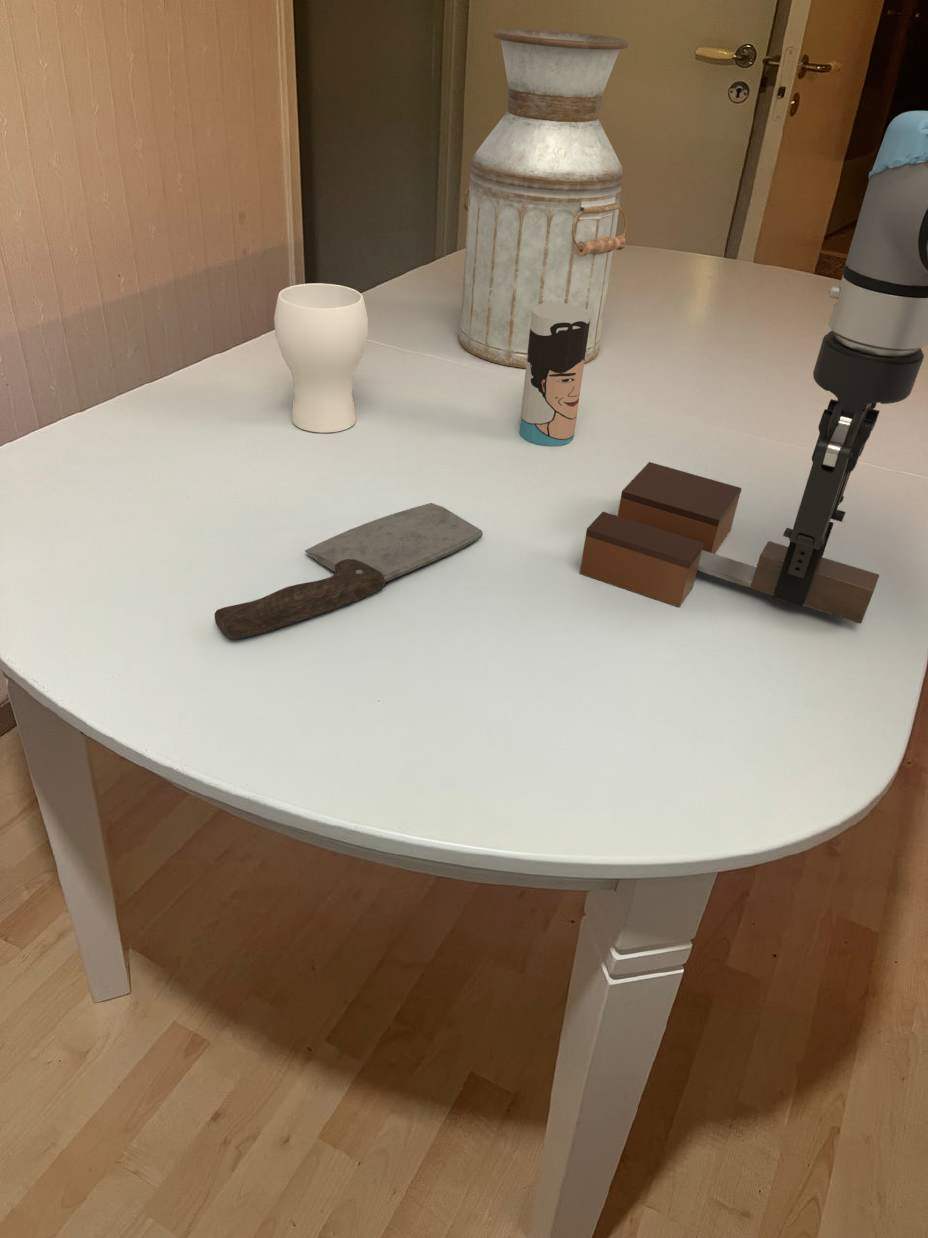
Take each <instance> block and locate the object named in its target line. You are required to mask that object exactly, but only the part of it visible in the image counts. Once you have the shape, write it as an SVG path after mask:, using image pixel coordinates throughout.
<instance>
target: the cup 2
mask: <svg viewBox="0 0 928 1238" xmlns="http://www.w3.org/2000/svg"><path fill="white" fill-rule="evenodd" d="M590 319H591V313H590V312H589V311H588V310H586V309H585V308H582V307H580V306H576V305H572V304H566V303H542V304H538V305H536V306H534V307H533V308H532V314H531V324H530V333H529V343H528V353H527V362H526V368H525V373H524V382H523V383H524V384H523V390H522V391H523V392H522V402H521V412H520V421H519V429H518V430H519V432H518V434H519V436H520V437H521V439H524V440H525V441H527V442H528V443H531V444H535V445H538V446H544V447H560V446H565V445H568V444H570V443H571V442H572V441H574V437H575V430H576V424H577V416H578V412H579V411H578V410H579V404H580V397H581V389H582V382H583V376H584V375H583V374H584V367H585V363H584V361H585V354H586V347H587V340H588V333H589V326H590Z"/></svg>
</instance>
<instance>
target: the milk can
mask: <svg viewBox="0 0 928 1238" xmlns="http://www.w3.org/2000/svg"><path fill="white" fill-rule="evenodd" d="M493 37H494V38H495V39H497V40H500V44H501V51H502V57H503V62H504V69H505V74H506V81H507V88H508V90H507V93H508V95H507V111H506V112H505V113H504V115H503V116H502V118H501V119H500V120H498V121H499V122H497V123H496V125H495V127H494V128H493V129H492V130H491V132H490V133H489V134H488V135H487V137H486V138H485V139H484V141H483V142H482V143H481V145H480V146H479V148H477V150H476V151H475V153H474V154H473V156H472V157H471V159H470V162H469V163H470V164H469V169H470V175H469V177H468V178H469V185H468V186H467V188H466V190H465V192H464V195H463V200H462V204H463V208H464V209H465V213H466V216H467V217H466V235H465V248H464V249H465V251H464V267H463V281H462V282H463V283H462V299H461V315H460V322H459V328H458V329H459V330H458V337H457V338H458V340H459V344H460V345H461V347H462V348H463V349H464V350H466V351H467V352H468V353H470V354H472V355H473V356H475V357H476V358H480V359H482V360H485V361H488V362H491V363H494V364H499V365H501V366H507V367H513V368H520V369H526V362H527V353H528V343H529V333H530V324H531V314H532V308H533V307H534V306H536V305H538V304H542V303H566V304H572V305H576V306H580V307H582V308H585V309H586V310H588V311H589V312H590V313H591V319H590V326H589V333H588V340H587V347H586V354H585V361H584V364H588V363H589V362H591V361H592V360H594V359H595V358H596V357H597V356H598V354H599V352H600V349H601V347H600V346H601V340H602V339H601V338H602V330H603V323H604V317H605V310H606V303H607V298H608V297H607V296H608V289H609V283H610V276H611V269H612V262H613V255H614V250H616V251H623V250H624V249H625V247H626V245H627V240H626V237H625V236H626V233H627V229H628V219H627V215H626V213H625V211H624V210H623V208H621V197H622V193H623V187H622V185H623V183H624V180H625V171H624V169H623V166H622V164H621V162H620V160H619V158H618V156H617V154H616V152H615V149H614V148H613V146H612V144H611V142H610V140H609V138H608V136H607V134H606V132H605V129H604V128H603V126H602V124H601V121H600V119H599V115H600V109H601V104H602V100H603V99H602V98H603V95H604V92H605V89H606V88H607V84H608V81H609V79H610V76H611V73H612V71H613V68H614V66H615V63H616V60H617V57H618V55H619V53H620V50H623V49H627V48H628V47H629V41H628V40H626V39H623V38H620V37H614V36H608V35H602V34H595V33H594V34H593V33H586V32H585V33H584V32H575V31H565V30H551V29H531V28H499V29H496V30H494V32H493ZM467 195H468V202H467V201H466V200H467ZM466 203H468V204H466ZM620 213H621V214H622V217H623V221H624V226H623V227H624V228H623V231H622V234H618V235H617V230H618V223H619V222H618V221H619V215H620Z"/></svg>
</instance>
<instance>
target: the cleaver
mask: <svg viewBox="0 0 928 1238" xmlns="http://www.w3.org/2000/svg"><path fill="white" fill-rule="evenodd" d="M483 535H484V534H483V530H482V529H480V528H478V527H477V526H475V525H473V524H472V523H471V522H469V521H467V520H466V519H464V518H462V517H461V516H459V515H457V514H455V513H454V512H452V511H450V510H449V509H448V508H446V507H444V506H442V505H439V504H436V503H433V502H429V503H427V504H422V505H418V506H415V507H411V508H408V509H405V510H401V511H398V512H394V513H392V514H388V515H387V516H383V517H380V518H377V519H374V520H372V521H369V522H365V523H363V524H361V525H358V526H356V527H353V528H350V529H348V530H346V531H343V532H341V533H339V534H337V535H335V536H332V537H329V538H328V539H326V540H323V541H321V542H319V543H317V544H315V545H313V546H311V547H309V548H307V549H305V550H304V553H306V554H307V555H309V556H310V557H311V558H313V559H314V560H315V561H316V562H318V563H319V564H321V565H322V566H323V567H326V568H328V569H329V570H331V571H333V572H334V573H335V574H333V575H331V576H329V577H326V578H323V579H318V580H314V581H309V582H303V583H302V582H301V583H297V584H294V585H290V586H285V587H284V588H281V589H278V590H276V591H274V592H272V593H270V594H267V595H265V596H263V597H261V598H258V599H254V600H251V601H248V602H243V603H238V604H234V605H229V606H223V607H221V608H218V609H216V611H215V612H214V622H215V625H216V627H217V628H218V630H219V631H220V632H221V633H222V634H223V635H224V636H225V637H226V638H228V639H230V640H231V639H232V640H236V639H243V638H247V637H251V636H255V635H259V634H263V633H266V632H270V631H274V630H277V629H279V628H283V627H286V626H289V625H291V624H295V623H298V622H301V621H304V620H306V619H310V618H312V617H315V616H318V615H321V614H325V613H328V612H331V611H333V610H335V609H339V608H341V607H344V606H346V605H349V604H352V603H354V602H356V601H359V600H362V599H364V598H366V597H368V596H370V595H372V594H375V593H377V592H378V591H381V590H382V589H383V587H384V586H385V583H387V582H389V581H391V580H394V579H396V578H399V577H401V576H404V575H406V574H408V573H410V572H412V571H415V570H417V569H419V568H422V567H424V566H426V565H429V564H431V563H433V562H435V561H439V560H441V559H443V558H445V557H447V556H449V555H451V554H454V553H455V552H457V551H459V550H462V549H463V548H465V547H468V546H469V545H471V544H473V543H474V542H476V541H477V540H480V539H481V538H483Z"/></svg>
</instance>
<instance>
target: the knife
mask: <svg viewBox="0 0 928 1238" xmlns="http://www.w3.org/2000/svg"><path fill="white" fill-rule="evenodd" d="M788 547H789V546H787V545H783V544H780V543H777V542H774V541H771V540H768V541H767V542H766V544H765V546H764V548H763V549H762V551H761V553H760V555H759V558H758V561H757V564H756V566H754V565H750V564H748V563H745V562H741V561H738V560H735V559H732V558H729V557H726V556H722V555H719V554H716V553H715V554H713V553H710V552H707V551H704V550H702V552H701V556H700V560H699V564H698V568H697V572H698V571H699V572H702V573H704V574H707V575H711V576H713V577H717V578H719V579H723V580H726V581H729V582H732V583H735V584H738V585H741V586H744V587H748V588H751V589H753V590H755V591H759V592H762V593H764V594H768V595H770V596H773V594H774V591H775V588H776V585H777V582H778V578H779V575H780V572H781V569H782V566H783V562H784V559H785V556H786V553H787V550H788ZM879 578H880V574H879V573H876V572H873V571H868V570H866V569H863V568H859V567H855V566H853V565H849V564H846V563H842V562H840V561H837V560H833V559H829V558H827V557H823V556H822V557H820V558H819V561H818V564H817V567H816V570H815V573H814V576H813V578H812V581H811V584H810V587H809V590H808V593H807V596H806V599H805V602H804V604H803V606H804V607H808V608H810V609H813V610H817V611H819V612H823V613H826V614H829V615H832V616H835V617H837V618H838V617H839V618H841V619H844V620H848V621H851V622H853V623H855V624H860V625H861V624H862V623H863V620H864V618H865V615H866V612H867V610H868V607H869V605H870V603H871V600H872V598H873V596H874V592H875V590H876V587H877V585H878V582H879Z"/></svg>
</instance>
